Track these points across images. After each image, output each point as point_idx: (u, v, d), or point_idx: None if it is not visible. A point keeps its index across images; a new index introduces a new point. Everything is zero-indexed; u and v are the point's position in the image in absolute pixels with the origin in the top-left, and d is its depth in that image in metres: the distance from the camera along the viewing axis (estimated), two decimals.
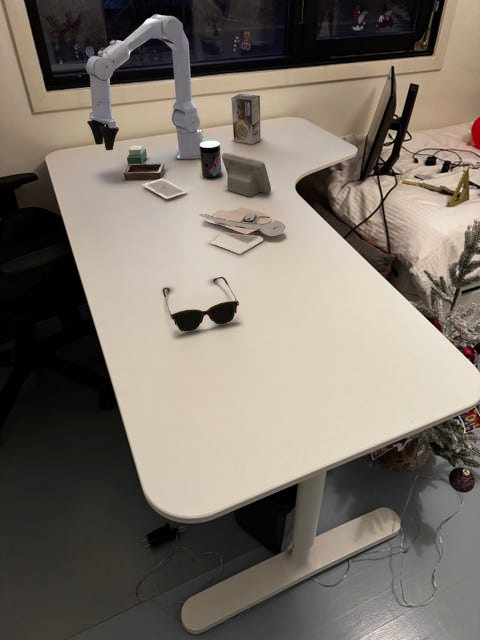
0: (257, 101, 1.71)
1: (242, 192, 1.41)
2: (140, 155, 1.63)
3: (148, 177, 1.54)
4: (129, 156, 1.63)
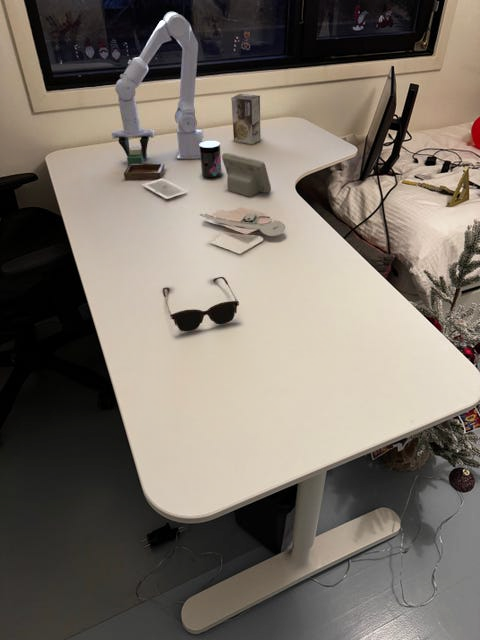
0: (257, 101, 1.71)
1: (242, 192, 1.41)
2: (140, 155, 1.63)
3: (148, 177, 1.54)
4: (129, 156, 1.63)
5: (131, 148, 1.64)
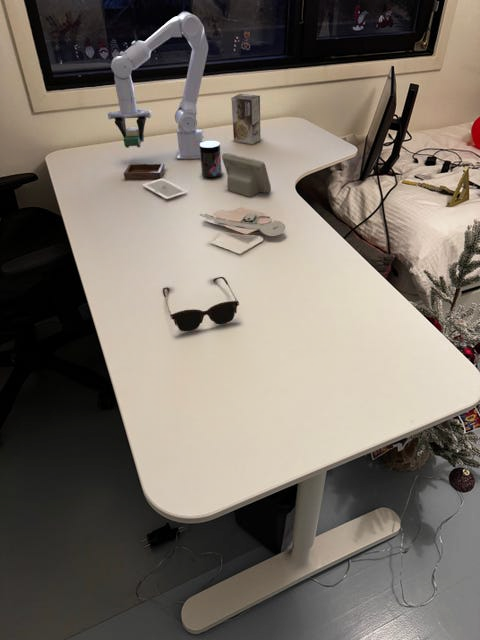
0: (257, 101, 1.71)
1: (242, 192, 1.41)
2: (137, 136, 1.59)
3: (148, 177, 1.54)
4: (126, 137, 1.58)
5: (128, 129, 1.60)
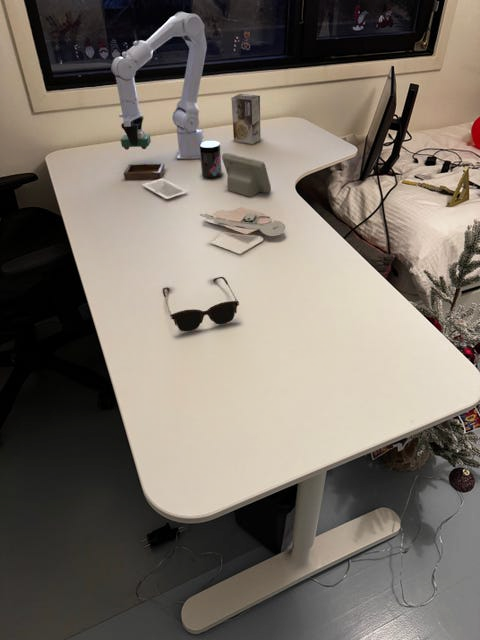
0: (257, 101, 1.71)
1: (242, 192, 1.41)
2: (126, 139, 1.56)
3: (148, 177, 1.54)
4: None
5: None
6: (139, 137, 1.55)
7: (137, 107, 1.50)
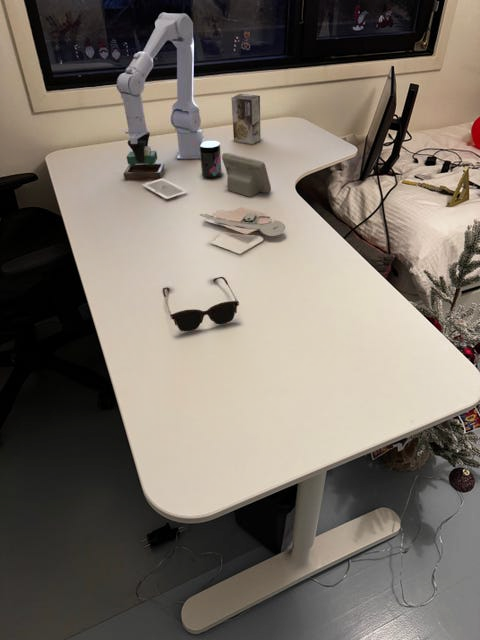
0: (257, 101, 1.71)
1: (242, 192, 1.41)
2: (132, 155, 1.51)
3: (148, 177, 1.54)
4: None
5: None
6: (146, 154, 1.51)
7: (144, 124, 1.46)
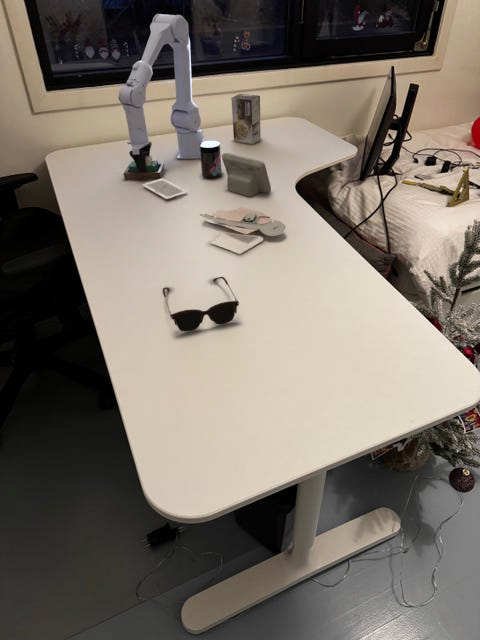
0: (257, 101, 1.71)
1: (242, 192, 1.41)
2: (134, 165, 1.54)
3: (148, 177, 1.54)
4: (134, 161, 1.56)
5: None
6: (147, 164, 1.53)
7: (145, 134, 1.48)
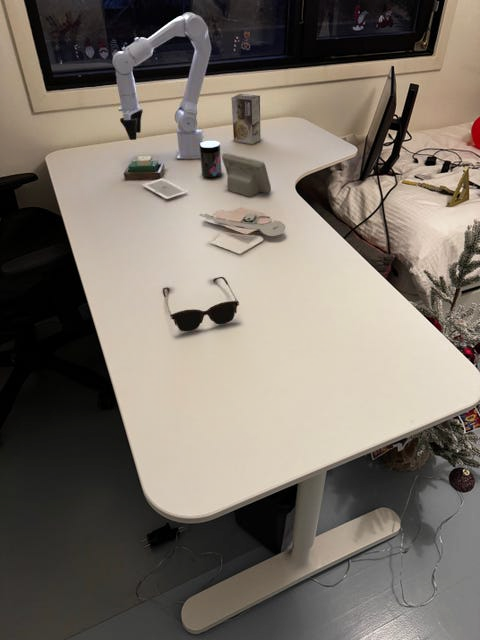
0: (257, 101, 1.71)
1: (242, 192, 1.41)
2: (134, 165, 1.54)
3: (148, 177, 1.54)
4: (134, 161, 1.56)
5: (142, 156, 1.55)
6: (147, 164, 1.53)
7: (136, 101, 1.53)
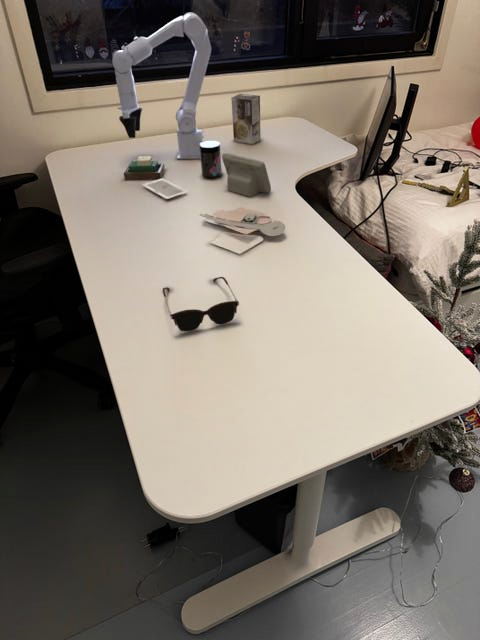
0: (257, 101, 1.71)
1: (242, 192, 1.41)
2: (134, 165, 1.54)
3: (148, 177, 1.54)
4: (134, 161, 1.56)
5: (142, 156, 1.55)
6: (147, 164, 1.53)
7: (135, 99, 1.55)
